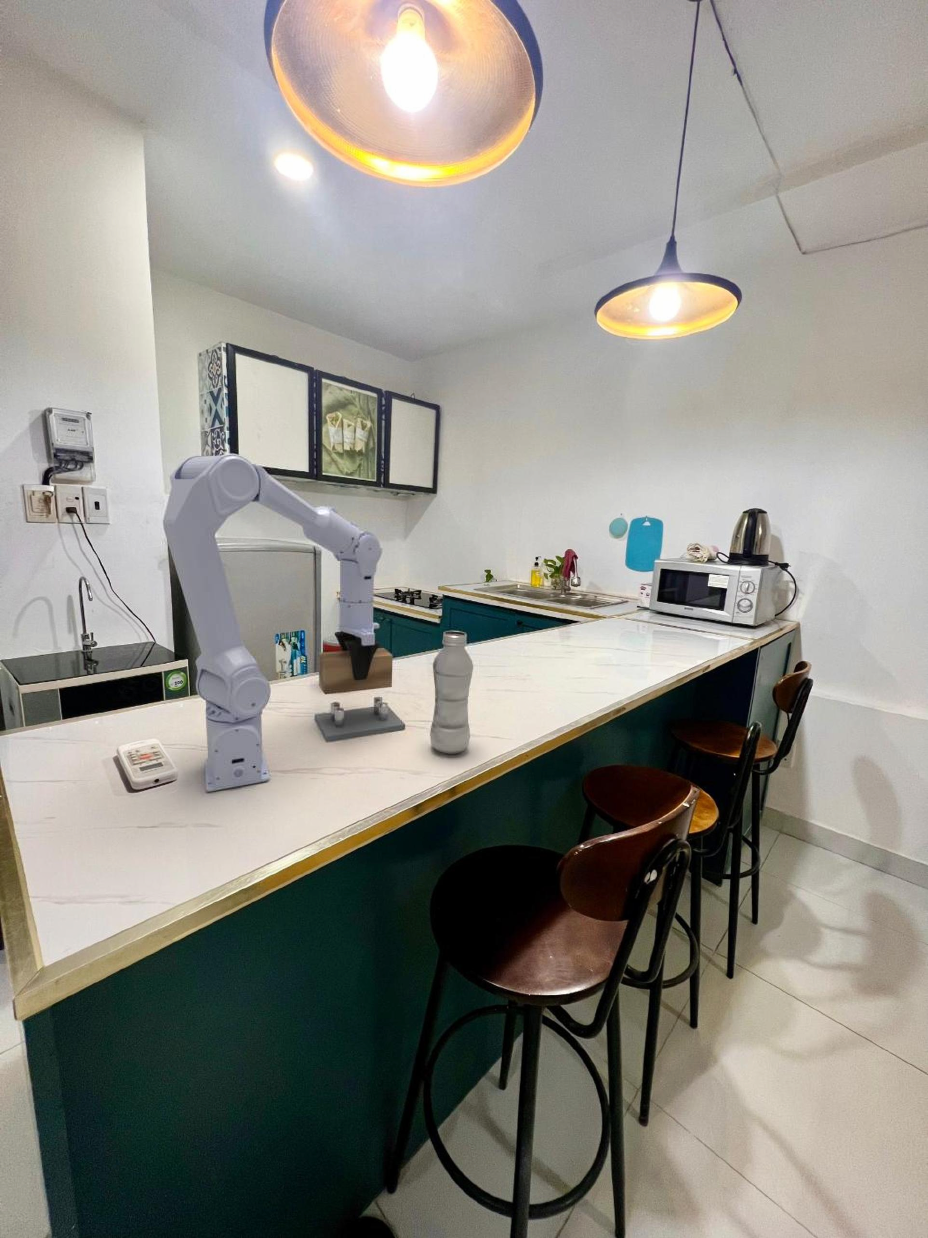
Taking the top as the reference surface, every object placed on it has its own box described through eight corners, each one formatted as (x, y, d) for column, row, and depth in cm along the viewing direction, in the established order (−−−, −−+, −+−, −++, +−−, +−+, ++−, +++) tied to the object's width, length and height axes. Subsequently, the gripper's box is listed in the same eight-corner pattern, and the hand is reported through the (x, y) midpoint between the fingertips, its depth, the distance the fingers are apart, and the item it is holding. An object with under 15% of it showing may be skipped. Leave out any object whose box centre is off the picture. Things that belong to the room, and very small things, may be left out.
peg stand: (405, 729, 88) (405, 708, 88) (326, 742, 82) (326, 719, 81) (386, 709, 97) (387, 690, 96) (314, 719, 90) (314, 699, 90)
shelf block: (391, 687, 89) (392, 655, 88) (324, 694, 83) (324, 660, 82) (383, 678, 93) (384, 648, 92) (319, 684, 88) (318, 652, 87)
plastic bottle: (465, 761, 78) (472, 640, 74) (424, 755, 79) (429, 635, 75) (472, 744, 84) (479, 631, 80) (434, 738, 85) (439, 627, 81)
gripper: (392, 606, 81) (390, 684, 84) (366, 593, 93) (365, 661, 96) (350, 608, 78) (350, 689, 80) (329, 594, 90) (329, 664, 93)
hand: (355, 674), depth 88 cm, fingers closed on shelf block, 5 cm apart
